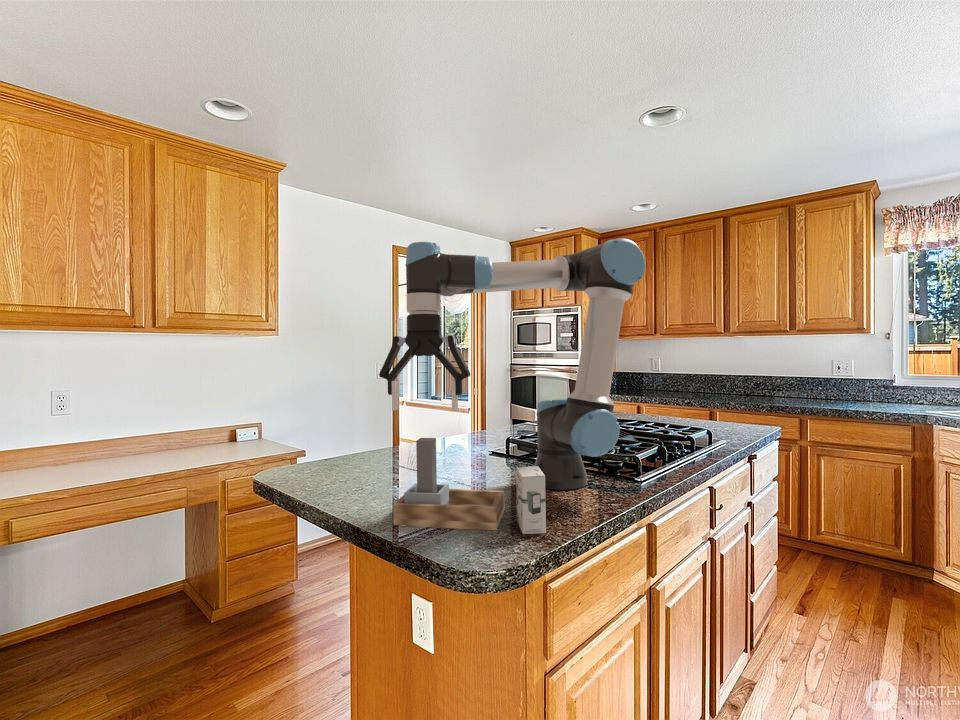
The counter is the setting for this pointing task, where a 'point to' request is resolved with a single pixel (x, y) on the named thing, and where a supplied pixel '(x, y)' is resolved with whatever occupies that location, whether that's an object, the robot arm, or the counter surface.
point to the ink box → (531, 500)
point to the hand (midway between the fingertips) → (425, 410)
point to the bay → (454, 511)
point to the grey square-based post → (427, 477)
